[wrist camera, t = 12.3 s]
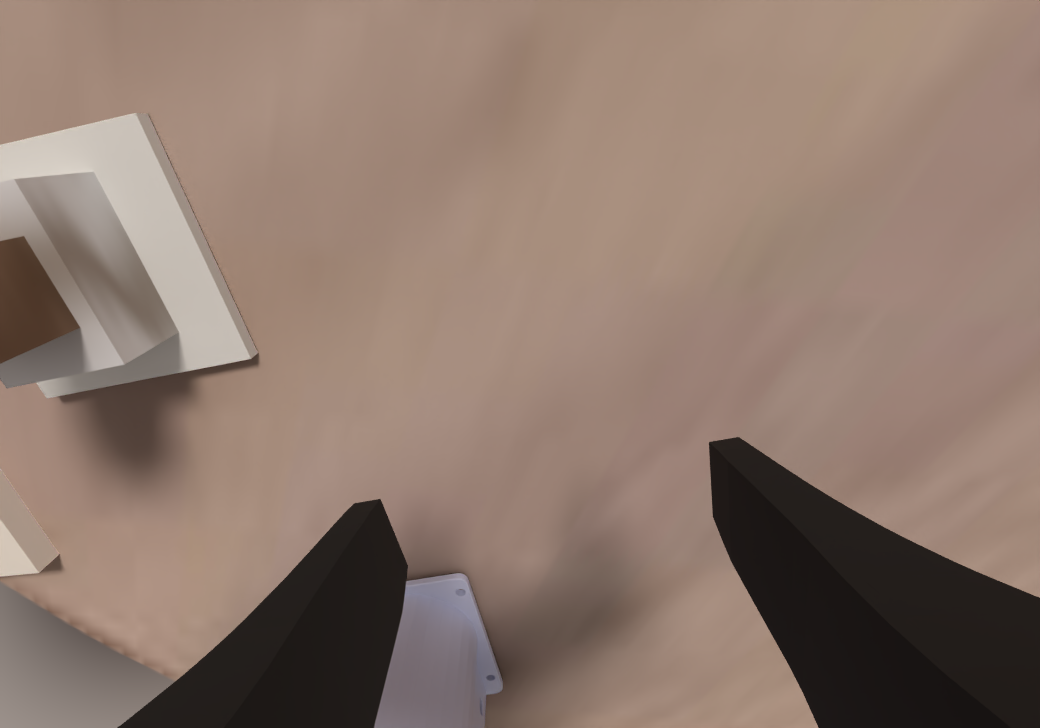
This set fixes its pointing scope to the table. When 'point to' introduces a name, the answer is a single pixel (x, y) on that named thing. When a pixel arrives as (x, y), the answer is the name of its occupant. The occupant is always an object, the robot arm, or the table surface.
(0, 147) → the mat
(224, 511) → the table surface
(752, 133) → the table surface
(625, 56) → the table surface
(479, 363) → the table surface
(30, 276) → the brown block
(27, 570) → the tile
